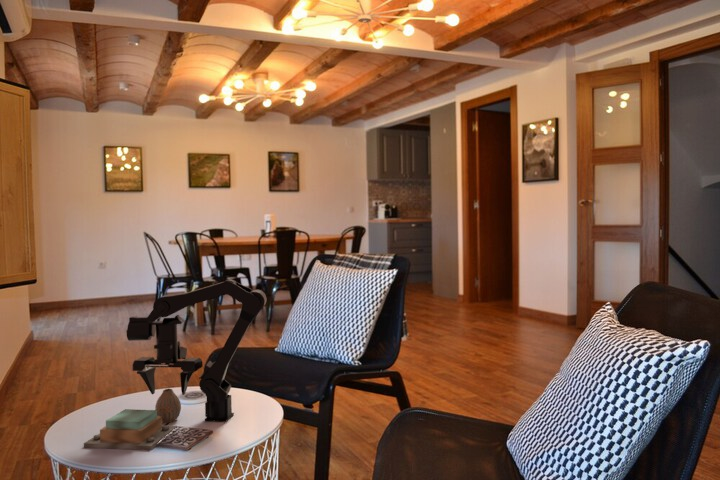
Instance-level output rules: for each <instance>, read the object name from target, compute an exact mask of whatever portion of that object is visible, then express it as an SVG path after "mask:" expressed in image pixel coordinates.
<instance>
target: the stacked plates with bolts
mask: <svg viewBox="0 0 720 480" xmlns="http://www.w3.org/2000/svg"><path fill="white" fill-rule="evenodd" d="M175 428H177V429H178V425H163V422H162V416H157V410H155V409H135V408H134V409H133V408H132V409H130V408H128V409H127V408H126V409H123V410H122V411H120V412H118V413H116V414H114V415H113V416H111V417H110V418H108V419H106V420H105V426H104V427H102V428H100V429H99V433H98V434H95V435H93V437H92V438H90V439H88V440H86V441H85V442H84V443H83V448H92V449H93V448H94V449H95V448H96V449H97V448H98V449H114V450H115V449H119V450H141V451H145V450H146V451H152V450H153V449H154V448H156V447H157V446H158V445H157V443H158V442H159V441H160V440H161V439H162V438H163V437H165V436H166V435H167V434H169V433H170V432H171V431H172V430H173V429H175ZM156 445H157V446H156Z"/></svg>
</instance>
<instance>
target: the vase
mask: <svg viewBox="0 0 720 480" xmlns="http://www.w3.org/2000/svg"><path fill="white" fill-rule="evenodd" d="M154 410H157V416H162V423H171V422H172V423H173V422H174V421H176V420H177V419H178V418H179V416H180V414H181V412H182V411H181V410H182V403H181V400H180V398H179V397H178V395H177V394H176V393H175V392H174V390H173V388H165V389H163V390H162V393H161V395H159V397H158V398H157V401H156V403H155V409H154Z"/></svg>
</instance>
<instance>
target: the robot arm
mask: <svg viewBox="0 0 720 480" xmlns="http://www.w3.org/2000/svg"><path fill="white" fill-rule="evenodd" d="M225 295H227V296H230V297H231V298H233V299H235V300H236V301H237V302H239V303H241V304H242V306H241V308H240V313H239V316H238V319H237V320H236V322H235V324H234V327H233V328H232V329H231V331H230V333H229V335H228V337H227V340H226V341H225V343H224V346H223V347H222V348H221V351H220V353H219V354H218V356H217V358H216V359H215V361H214V362H213V361H212V360H209V361H208V362H207V364H206V365H205V367H204V370H203V372H202V373H201V374H200V376H199V377H198V379H199V380H200V381H199V390H200V391H201V392H202V393H203V394H205V396H206V401H205V403H204V405H205V406H204V413H205V414H204V416H205V418H204V421H205V422H220V423H221V422H223V423H225V422H228V421H229V420H230V419H231V418H232V417H233V416H234V414H235V413H234V412H233V411H232V406H233V405H232V395H231V394H229V393H230V392H231V388H232V384H231V383H230V382H228V381H227V380H226V379H225V377H226V374H227V370H228V367H229V363H230V362H231V360H232V358H233V356H234V355H235V352H236V351H237V349H238V347H239V345H240V343H241V342H242V340H243V338H244V336H245V334H246V332H247V330H248V329H249V327H250V325H251V323H252V322H253V321H254V320H255V318H256V317H257V315H258V314H259V313H260V312H262V311H261V310H262V309H263V308H264V306H265V305H266V304H267V296H266V293H265V292H264V291H263V290H261V289H252V288H251V287H249V286H245V285H244V284H241V283H239V282H237V281H236V280H234V279H226V280H224V281H222V282H218V283H216V284H215V283H214V284H211V285H209V286H205V287H202V288H199V289H198V288H197V289H195V290H191V291H188V292H182V293H179V292H178V293H171V294H165V295H163V296H160V297H158V298H157V299H155V300H154V302H153V305H152V310H151V312H150V313H149V314H148V315H147V316H136V315H135V316H130V317H129V320H128V321H129V322H128V324H127V329H126V338H127V340H128V341H129V342H136V341H138V342H139V341H141V342H142V341H151V340H152V338H153V337H155V344H154V345H153V349H154V350H156V358H155V357H154V356H141V357H139V358H137V359H134V360H133V362H132V364H131V371H132V372H136V374H137V375H139V376H140V377H141V378H142V380H143V382H144V383H145V385H146V386H147V389H148V391H149V392H150V394H151V395H154V394H155V393H156V381H155V372H156V368H180V370H182V371H181V372H180V373H179V375H180V377H179V379H180V390H181V395H182V396H184V395H185V394H186V392H187V390H188V386H189V383H190V379H191V378H192V375H193V374H194V373H196V372H197V371H198V370H200V369H201V368H203V360H202V359H201V357H191V356H190V357H187V355H188V348H187V347H185V346H181V342H180V340H179V341H178V325H181V324H183V323H185V319H183V317H181V315H179V314H176V315H175V316H174V317H169V316H171V315H174V314H175V313H177V312H179V311H181V310H183V309H185V308H187V307H189V306H192V305H196V304H199V303H202V302H206V301H209V300H212V299H215V298H219V297H222V296H225ZM161 318H163V319H162V320H159V319H161Z"/></svg>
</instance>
